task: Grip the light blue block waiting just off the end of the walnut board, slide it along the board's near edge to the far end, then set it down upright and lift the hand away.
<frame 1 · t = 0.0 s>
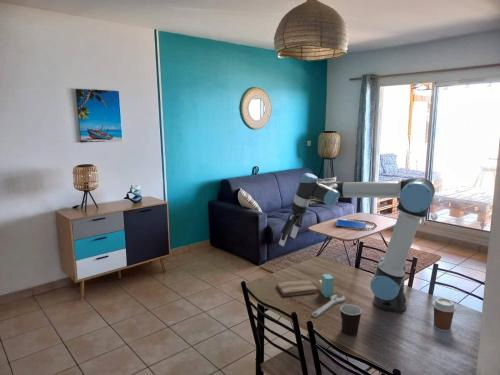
hand: (287, 241, 185), 28 cm above the table, tool tilted 20°, fingers open, 13 cm apart
adjustable wrench: (327, 307, 176), on the table
walnut board: (296, 289, 193), on the table
light blue block: (327, 294, 187), on the table
coffee cup: (441, 327, 157), on the table
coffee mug: (350, 330, 156), on the table
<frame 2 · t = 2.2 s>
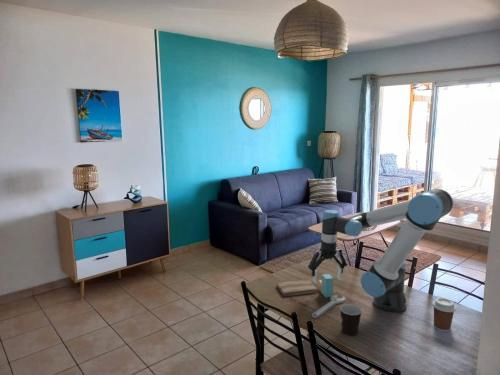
hand: (326, 280, 186), 8 cm above the table, tool pointing down, fingers open, 13 cm apart
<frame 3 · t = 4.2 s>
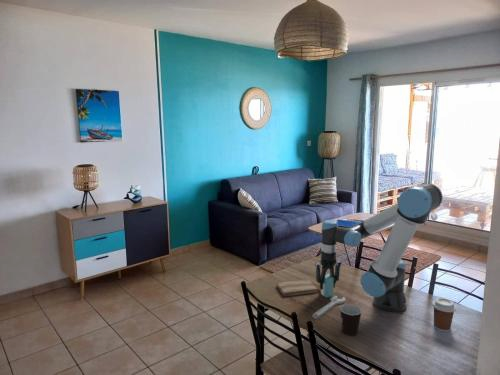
hand: (326, 294, 187), 0 cm above the table, tool pointing down, fingers closed on light blue block, 4 cm apart
light blue block: (327, 294, 187), on the table, touching gripper
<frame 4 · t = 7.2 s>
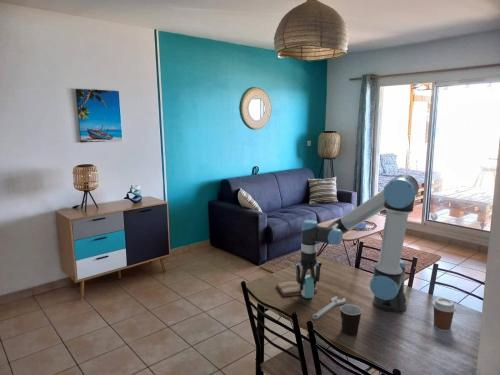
hand: (307, 294, 184), 1 cm above the table, tool pointing down, fingers closed on light blue block, 4 cm apart
light blue block: (307, 295, 184), point 1 cm above the table, touching gripper
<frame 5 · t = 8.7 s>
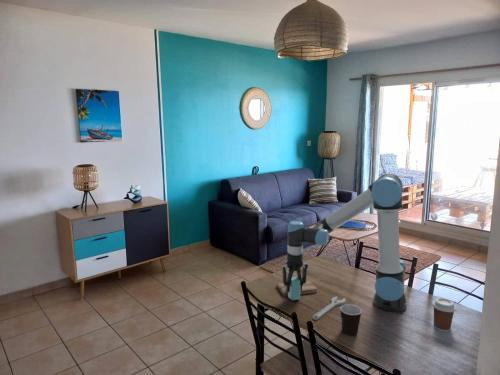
hand: (294, 296, 183), 1 cm above the table, tool pointing down, fingers closed on light blue block, 4 cm apart
light blue block: (294, 297, 183), point 1 cm above the table, touching gripper
when the fingers open (1 cm above the table, at t = 10.2 s): light blue block stays where it is, on the table.
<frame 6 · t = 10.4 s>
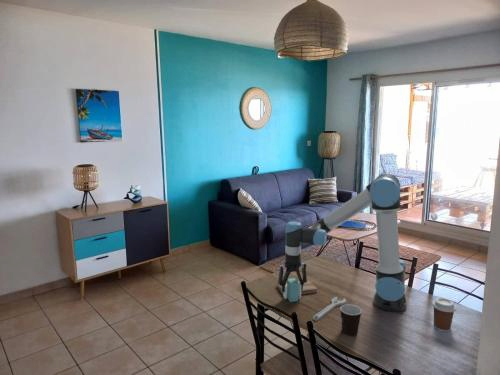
hand: (292, 296, 182), 1 cm above the table, tool pointing down, fingers open, 7 cm apart
light blue block: (292, 299, 182), on the table
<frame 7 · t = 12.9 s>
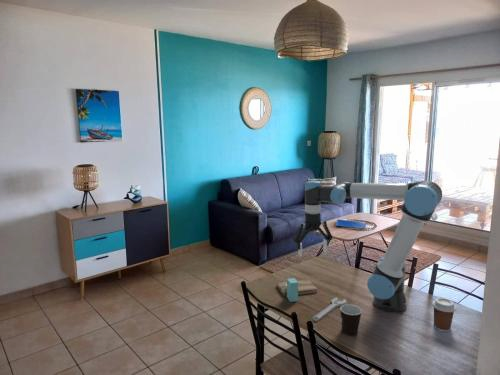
hand: (312, 253, 182), 22 cm above the table, tool pointing down, fingers open, 13 cm apart
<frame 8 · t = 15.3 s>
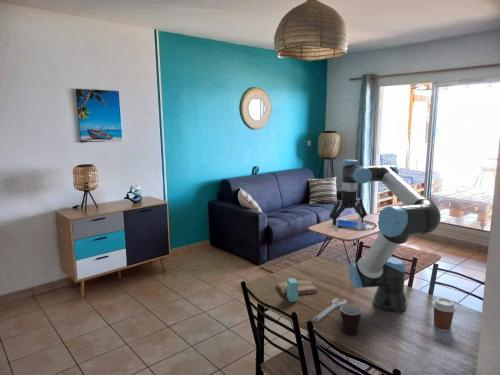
hand: (347, 230, 189), 32 cm above the table, tool pointing down, fingers open, 13 cm apart
at the end: light blue block inside the target area (0.4 cm from its centre), on the table; light blue block tilted 0°; the gripper is holding nothing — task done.
